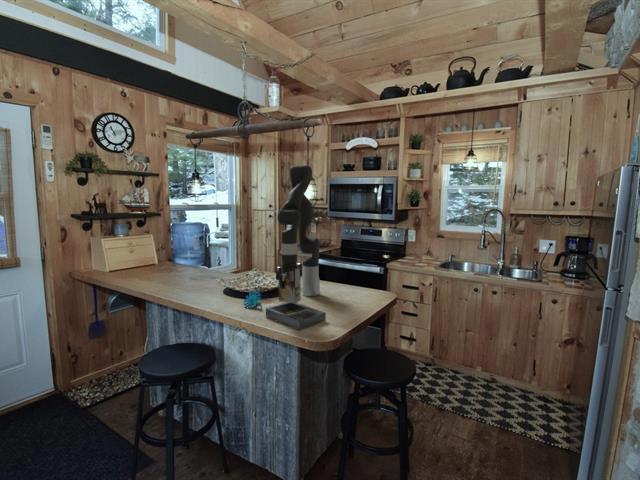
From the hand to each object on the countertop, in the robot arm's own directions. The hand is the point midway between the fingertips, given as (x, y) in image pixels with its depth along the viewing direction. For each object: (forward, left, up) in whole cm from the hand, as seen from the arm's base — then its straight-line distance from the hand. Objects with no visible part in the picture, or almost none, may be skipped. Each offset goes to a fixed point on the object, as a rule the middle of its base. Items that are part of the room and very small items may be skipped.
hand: (289, 286), depth 161 cm
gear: (+4, -24, -15) cm, 28 cm away
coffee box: (0, 0, -7) cm, 7 cm away
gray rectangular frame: (0, +4, -14) cm, 15 cm away
